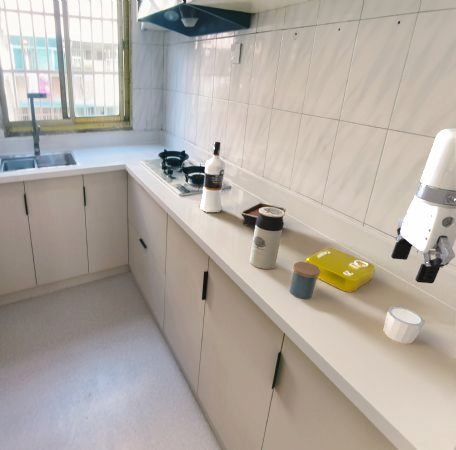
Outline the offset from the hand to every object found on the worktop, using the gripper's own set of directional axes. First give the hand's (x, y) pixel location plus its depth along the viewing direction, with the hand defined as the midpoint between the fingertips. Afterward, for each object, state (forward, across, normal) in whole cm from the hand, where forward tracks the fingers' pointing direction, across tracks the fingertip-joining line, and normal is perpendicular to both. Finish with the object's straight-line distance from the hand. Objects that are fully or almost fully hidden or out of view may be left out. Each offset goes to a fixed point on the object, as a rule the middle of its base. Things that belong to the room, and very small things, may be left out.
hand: (410, 269), depth 73 cm
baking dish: (+18, +58, +20) cm, 64 cm away
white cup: (+18, -2, -1) cm, 18 cm away
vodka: (+18, +73, +40) cm, 85 cm away
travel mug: (+18, +28, +24) cm, 41 cm away
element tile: (+18, +26, +2) cm, 31 cm away
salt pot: (+17, +14, +16) cm, 27 cm away
